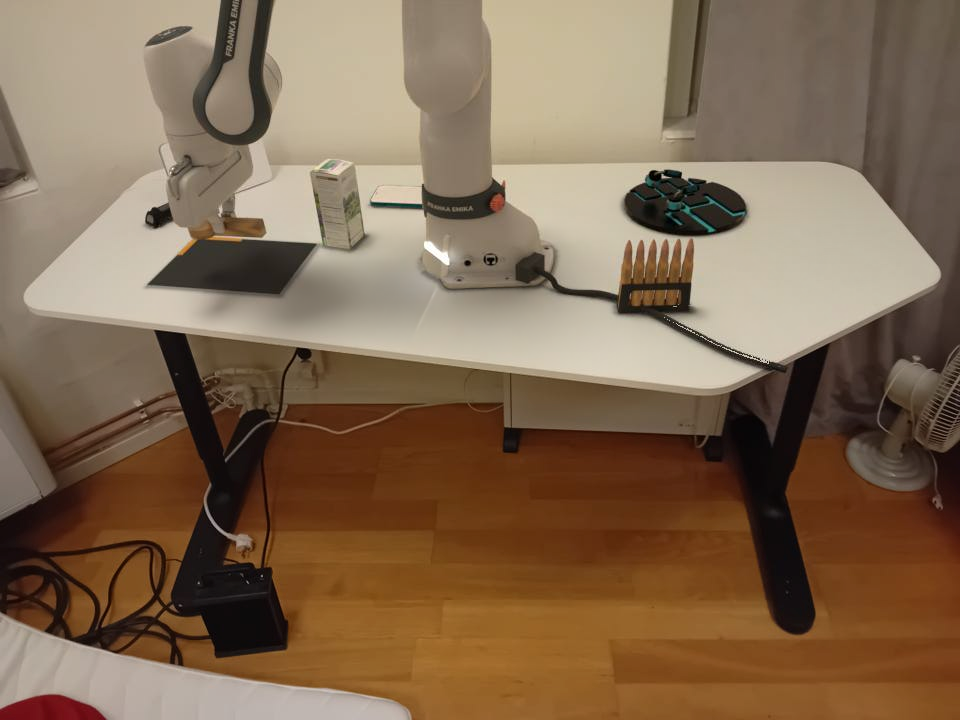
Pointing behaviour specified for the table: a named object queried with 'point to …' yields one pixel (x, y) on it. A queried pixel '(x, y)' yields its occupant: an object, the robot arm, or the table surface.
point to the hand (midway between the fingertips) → (225, 226)
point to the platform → (683, 205)
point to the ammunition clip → (656, 279)
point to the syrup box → (337, 203)
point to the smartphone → (397, 196)
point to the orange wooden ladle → (231, 228)
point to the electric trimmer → (158, 215)
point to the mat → (234, 265)
